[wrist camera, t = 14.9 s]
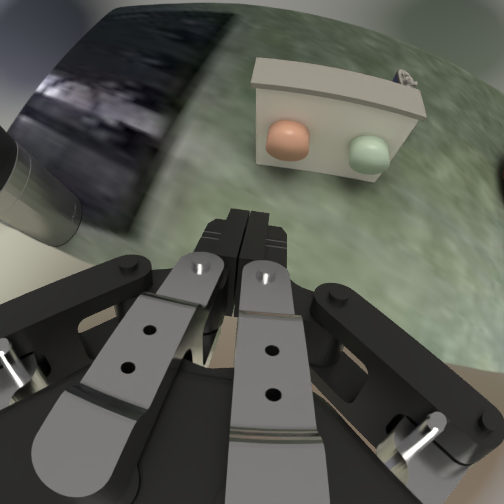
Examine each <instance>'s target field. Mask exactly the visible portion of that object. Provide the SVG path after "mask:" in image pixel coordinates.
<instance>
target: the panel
mask: <svg viewBox="0 0 504 504" xmlns="http://www.w3.org/2000/svg"><path fill="white" fill-rule="evenodd" d="M251 88H256V164H259V165H268V166H276V167H283V168H290V169H298V170H304V171H311V172H317V173H324V174H330V175H336V176H341V177H347V178H352V179H358V180H363V181H368V182H373V183H375V182H376V180H377V179H378V178H379V176H380V175H381V173H380V174H374V175H367V174H361V173H358V172H356V171H354V170H353V169H352V168H351V167H350V165H349V144H350V142H351V141H352V140H353V139H355V138H356V137H359V136H364V135H372V136H377V137H380V138H382V139H383V140H385V141H386V143H387V144H388V149H389V160H390V161H391V160H392V158H393V157H394V155H395V154H396V152H397V151H398V150H399V148H400V147H401V145H402V144H403V142H404V141H405V140H406V138H407V137H408V135H409V134H410V132H411V131H412V129H413V128H414V127H415V125H416V124H417V122H418V121H419V120H420V121H424V120H425V119H426V113H425V109H424V105H423V101H422V97H421V93H420V90H418V89H415V88H411V87H408V86H405V85H402V84H398V83H395V82H391V81H388V80H384V79H380V78H377V77H373V76H369V75H364V74H360V73H356V72H351V71H347V70H342V69H337V68H332V67H326V66H320V65H314V64H308V63H301V62H294V61H286V60H278V59H268V58H256V63H255V67H254V71H253V76H252V80H251ZM284 120H289V121H295V122H298V123H300V124H302V125H304V126H305V127H306V128H307V129H308V130H309V133H310V139H309V153H308V155H307V156H306V157H305V158H304V159H302V160H299V161H282V160H278V159H276V158H274V157H272V156H270V155H269V154H268V153H267V151H266V141H267V135H268V129H269V127H270V126H271V125H272V124H273V123H275V122H278V121H284Z"/></svg>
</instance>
